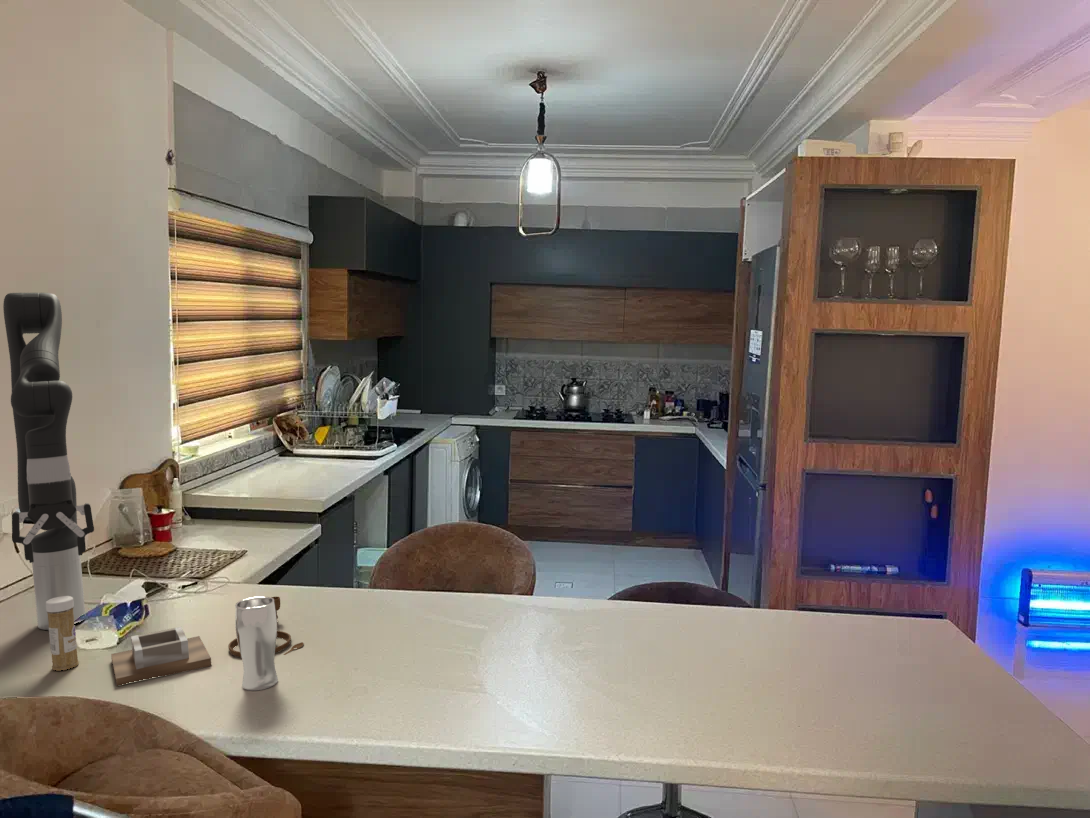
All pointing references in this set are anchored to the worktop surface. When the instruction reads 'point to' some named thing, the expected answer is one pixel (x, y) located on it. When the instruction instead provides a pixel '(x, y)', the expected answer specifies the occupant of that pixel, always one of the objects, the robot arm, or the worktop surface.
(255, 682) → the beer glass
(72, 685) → the worktop surface
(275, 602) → the place setting
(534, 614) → the worktop surface
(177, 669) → the socket
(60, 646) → the sprinkles bottle
